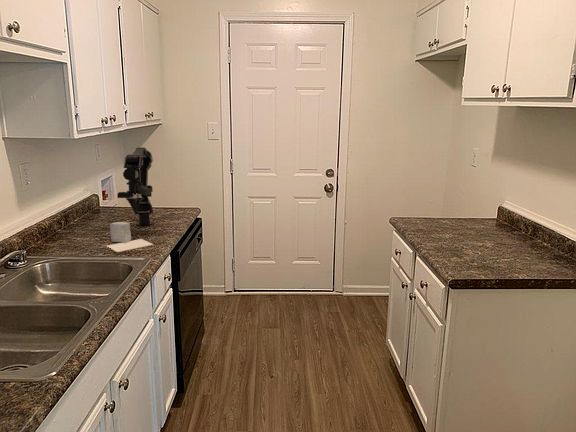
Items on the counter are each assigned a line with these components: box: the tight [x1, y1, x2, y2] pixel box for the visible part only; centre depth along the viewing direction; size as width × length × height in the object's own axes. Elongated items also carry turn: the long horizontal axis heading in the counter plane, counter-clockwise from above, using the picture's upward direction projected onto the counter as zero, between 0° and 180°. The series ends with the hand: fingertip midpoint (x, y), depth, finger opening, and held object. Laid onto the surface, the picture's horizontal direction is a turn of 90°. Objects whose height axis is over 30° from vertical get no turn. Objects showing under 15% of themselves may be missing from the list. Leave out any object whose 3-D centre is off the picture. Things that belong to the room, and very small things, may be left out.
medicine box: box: [109, 221, 132, 243], centre depth 218 cm, size 8×4×9 cm, turn 74°
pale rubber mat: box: [106, 238, 154, 253], centre depth 213 cm, size 12×17×1 cm
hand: (135, 212), depth 230 cm, fingers closed
